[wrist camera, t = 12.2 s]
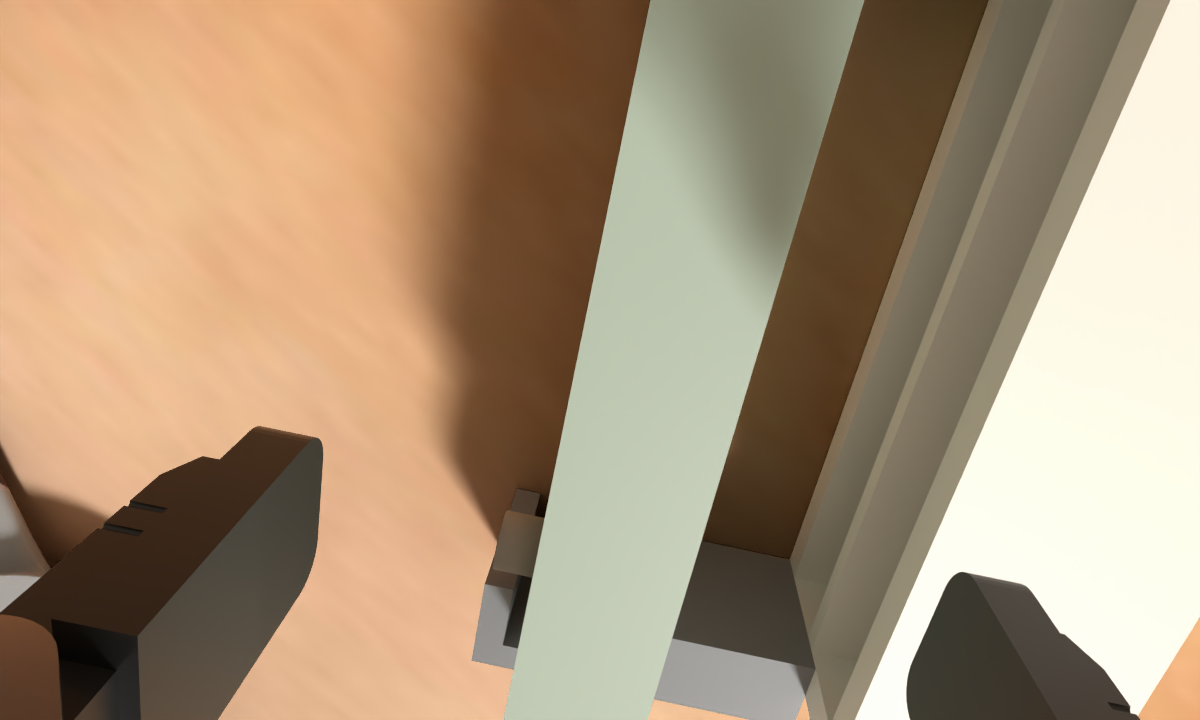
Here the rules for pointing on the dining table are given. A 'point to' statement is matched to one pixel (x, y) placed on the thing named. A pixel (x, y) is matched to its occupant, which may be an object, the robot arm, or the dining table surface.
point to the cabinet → (993, 393)
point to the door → (669, 340)
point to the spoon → (16, 551)
